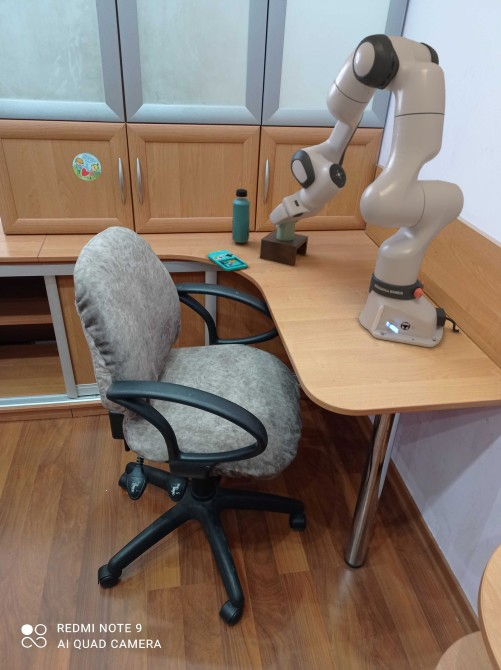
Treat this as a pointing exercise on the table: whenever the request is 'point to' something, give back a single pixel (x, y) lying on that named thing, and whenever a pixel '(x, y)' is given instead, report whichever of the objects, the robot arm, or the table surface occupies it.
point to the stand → (283, 248)
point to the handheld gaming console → (227, 260)
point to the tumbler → (286, 231)
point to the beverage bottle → (241, 217)
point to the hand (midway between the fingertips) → (284, 223)
